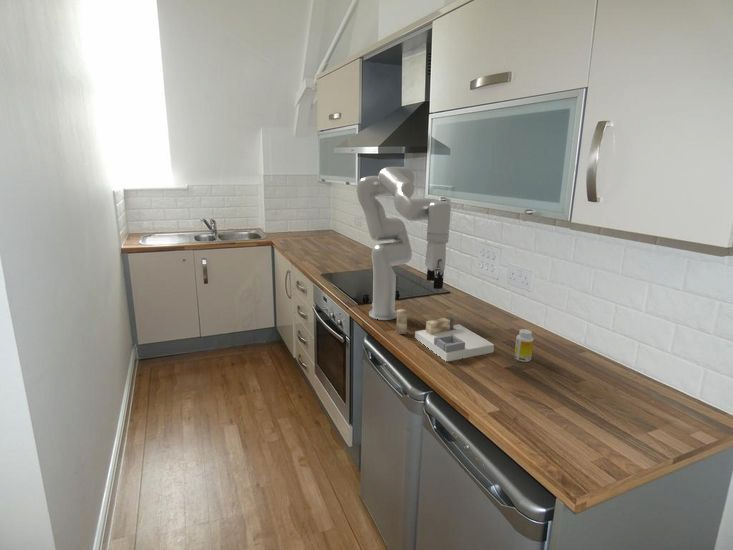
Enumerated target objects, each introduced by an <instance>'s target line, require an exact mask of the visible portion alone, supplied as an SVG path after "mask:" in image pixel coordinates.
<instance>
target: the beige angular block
mask: <svg viewBox="0 0 733 550" xmlns="http://www.w3.org/2000/svg"><path fill="white" fill-rule="evenodd" d="M425 322H426V323H425V330H426V332H428V333H429V334H433V333H438V332H442V331H447V330H452V329H453V325H455V324H454V323H455V318H454V317H452V316H446V317H442V318H437V319H432V320H426V321H425Z"/></svg>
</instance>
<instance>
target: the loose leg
mask: <svg viewBox="0 0 733 550" xmlns="http://www.w3.org/2000/svg"><path fill="white" fill-rule="evenodd" d="M396 311H397V318H396V330H395V331H396V332H397V333H398V334H397V333H396V332H395V333H396V334H397V335H399V334H405V335H407V334H408V333H407V330H408V310H406V309H403V308H402V309H397V310H396Z"/></svg>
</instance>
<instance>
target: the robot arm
mask: <svg viewBox="0 0 733 550" xmlns="http://www.w3.org/2000/svg"><path fill="white" fill-rule="evenodd" d="M414 183H415V175H414V171H412V169H411V168H409V167H407V166H386V167H383V168H382V169H381V170H380V171H379V172H378V175H368V176H364V177H362V178H360V179H359V181H358V182H357V186H356V195H357V199H358V201H359V205H360V206H361V208H362V210H363V213H364V216H365V220H366V221H365V222H366V225H367V228H368V229H367V230H368V233H369V235H370V238H371V240H373V241H374V242H384V243H379V244H376V245H375V246H374V247H373V248H372V250H371V256H370V257H371V261H372V272H373V273H372V274H373V278H372V279H373V280H372V281H373V282H372V288H373V289H372V303H371V306H372V309H371V310H369V311H368V315H369V317H370V318H372V319H374V320H377V319H378V321H392V320H394V319H397V310H395V309H396V307H395V306H396V288H397V287H396V284H397V282H396V281H397V279H396V278H397V277H396V272H395V271H394V269H393V267H392V266H397V265H399V266H400V265H404V264H407V263H409V262H410V261H411V260H412V256H413V251H412V248H411V242H410V239H409V235H408V234H409V233H408V231H407V228H406V225H405V222H404V221H403V220H402V219H400V218H398V217H390V218H389V217H387V215H386V213H385V208H384V206H383V204H382V203H381V202H380V201H379V200H378V199H377V198H376V197H393V205H394V207H395V210H396V211H397V213H399V214H400V215H401V217H403V218H404V219H406V220H408V221H411V222H413V221H414V222H417V221H427V229H426V242H427V244H426V252H425V262H424V264H425V267H427V268H426V269H427V270H426V281H427V282H428V281H429V282H433V285H432V286H433V289H434V290H436V289H437V290H442V289H443V287H444V277H445V269H446V258H447V257H446V256H447V244H448V243H449V237H450V224H451V223H450V222H451V212H452V211H451V210H452V207H451V203H450V202H447V201H440V200H438V199H436V198H411V197H412V196H413V194H414V193H415V185H414ZM389 241H392V242H389Z"/></svg>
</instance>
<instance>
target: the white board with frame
mask: <svg viewBox="0 0 733 550" xmlns="http://www.w3.org/2000/svg"><path fill="white" fill-rule="evenodd" d="M415 338H416V339H417V340H418V341H417V340H416V339H415ZM414 339H415V340H416V341H417V342H419V341H420V342H421V343H422V344H421V343H420V342H419V343H420V344H421V345H423V344H424V345H425V346H426V347H425V346H424V345H423V346H424V347H425V348H427V347H428V348H429V349H428V348H427V349H428V350H429V351H431V350H432V351H433V352H432V351H431V352H432V353H434V354H435V355H436V354H437V355H436V356H438V357H439V356H440V357H441V358H440V357H439V358H440V359H442V360H443V361H444V360H445V362H446V361H447V362H452V361H458V360H462V358H463V359H466V358H467V359H468V358H472V357H473V358H474V357H478V356H481V355H487V354H492V353H494V352H495V351H494V350H495V344H494V343H492V342H490V341H488V340H487V339H486V338H484V337H482V336H480V335H479V334H477V333H475V332H473V331H471V330H470V329H468V328H466V327H465V326H463V325H461V324H460V323H459V324H454V325H453V329H452V330H447V331H442V332H438V333H433V334H429V333H428V332H426V329H420V330H415V331H414Z"/></svg>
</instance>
